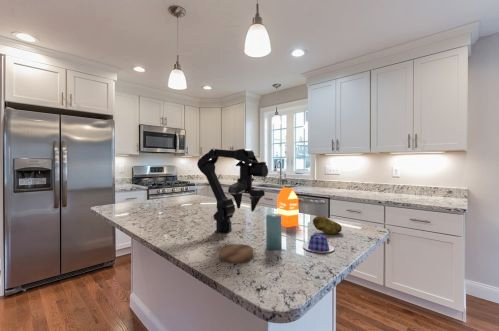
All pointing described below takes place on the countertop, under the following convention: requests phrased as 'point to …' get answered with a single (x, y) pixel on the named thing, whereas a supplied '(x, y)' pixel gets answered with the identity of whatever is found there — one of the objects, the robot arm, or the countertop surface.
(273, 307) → the countertop surface
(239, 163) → the robot arm
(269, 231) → the teal tapered cylinder
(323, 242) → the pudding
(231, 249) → the base plate
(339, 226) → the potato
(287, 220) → the orange juice
